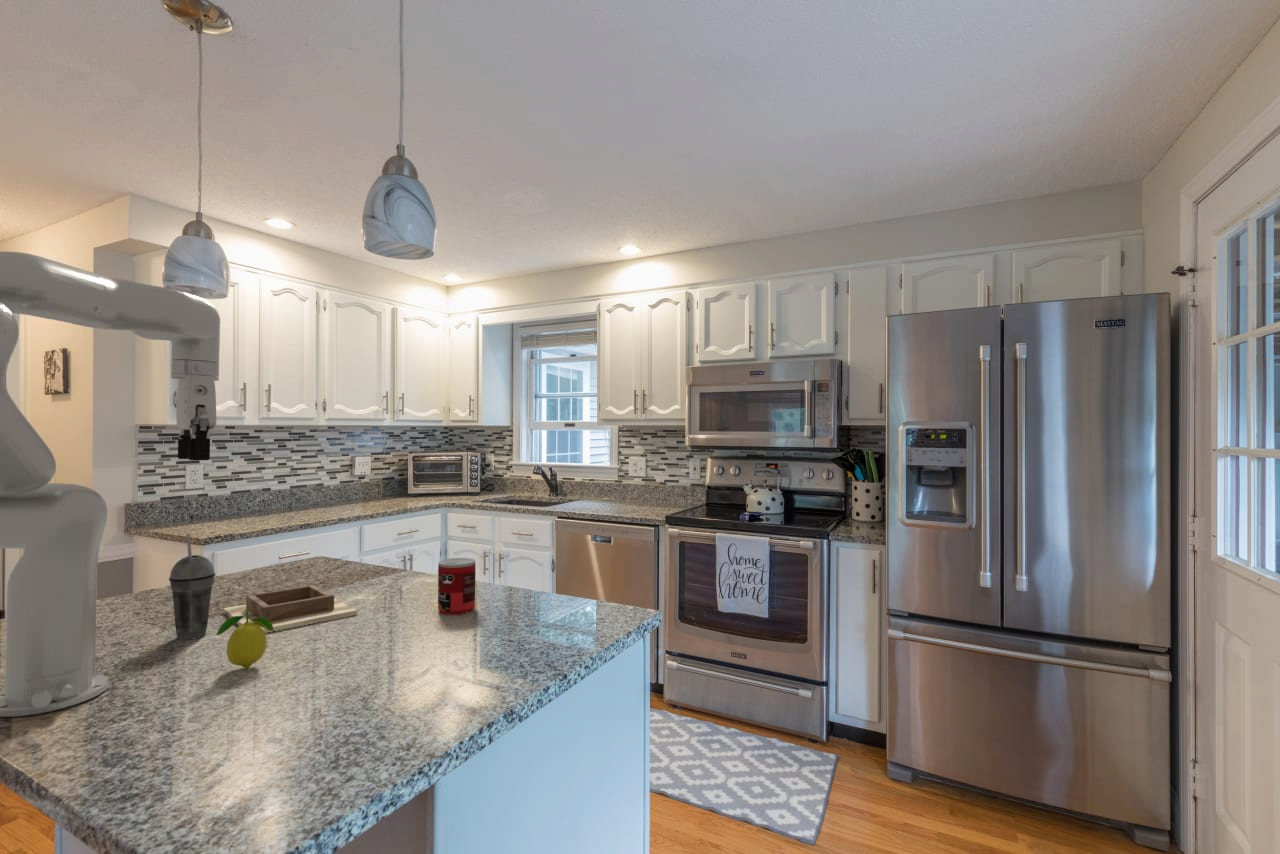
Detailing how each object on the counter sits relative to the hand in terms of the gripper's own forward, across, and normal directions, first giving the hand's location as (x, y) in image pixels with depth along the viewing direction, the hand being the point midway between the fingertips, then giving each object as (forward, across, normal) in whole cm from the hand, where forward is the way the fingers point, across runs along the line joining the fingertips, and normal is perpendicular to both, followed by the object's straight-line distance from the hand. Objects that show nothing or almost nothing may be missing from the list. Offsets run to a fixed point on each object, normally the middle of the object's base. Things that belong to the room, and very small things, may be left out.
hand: (193, 459), depth 117 cm
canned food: (+34, -21, -45) cm, 60 cm away
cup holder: (+34, +2, -18) cm, 39 cm away
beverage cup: (+34, 0, 0) cm, 34 cm away
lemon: (+35, -26, -3) cm, 44 cm away
